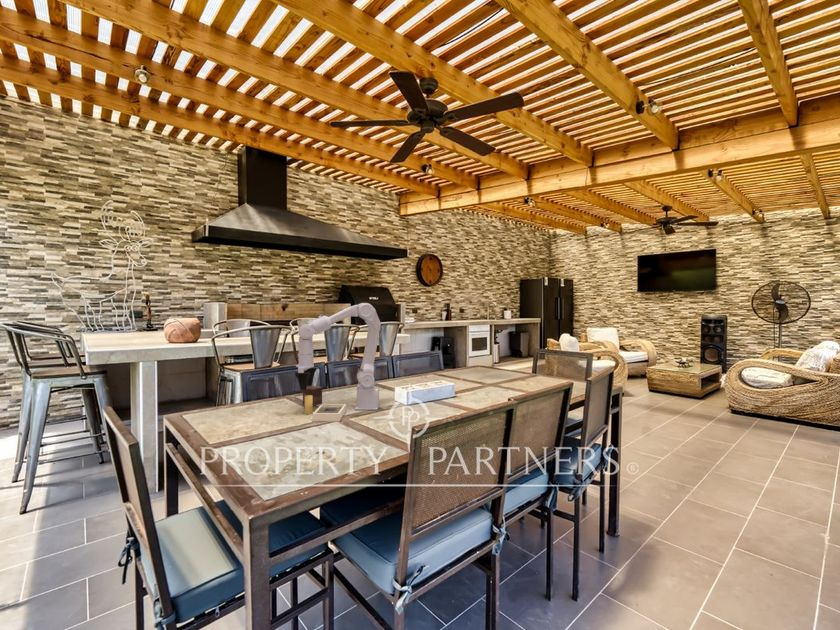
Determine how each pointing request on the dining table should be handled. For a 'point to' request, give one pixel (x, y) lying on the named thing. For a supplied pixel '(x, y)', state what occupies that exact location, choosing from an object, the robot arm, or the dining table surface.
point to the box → (313, 394)
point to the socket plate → (329, 410)
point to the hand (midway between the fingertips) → (306, 387)
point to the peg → (309, 404)
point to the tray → (329, 414)
